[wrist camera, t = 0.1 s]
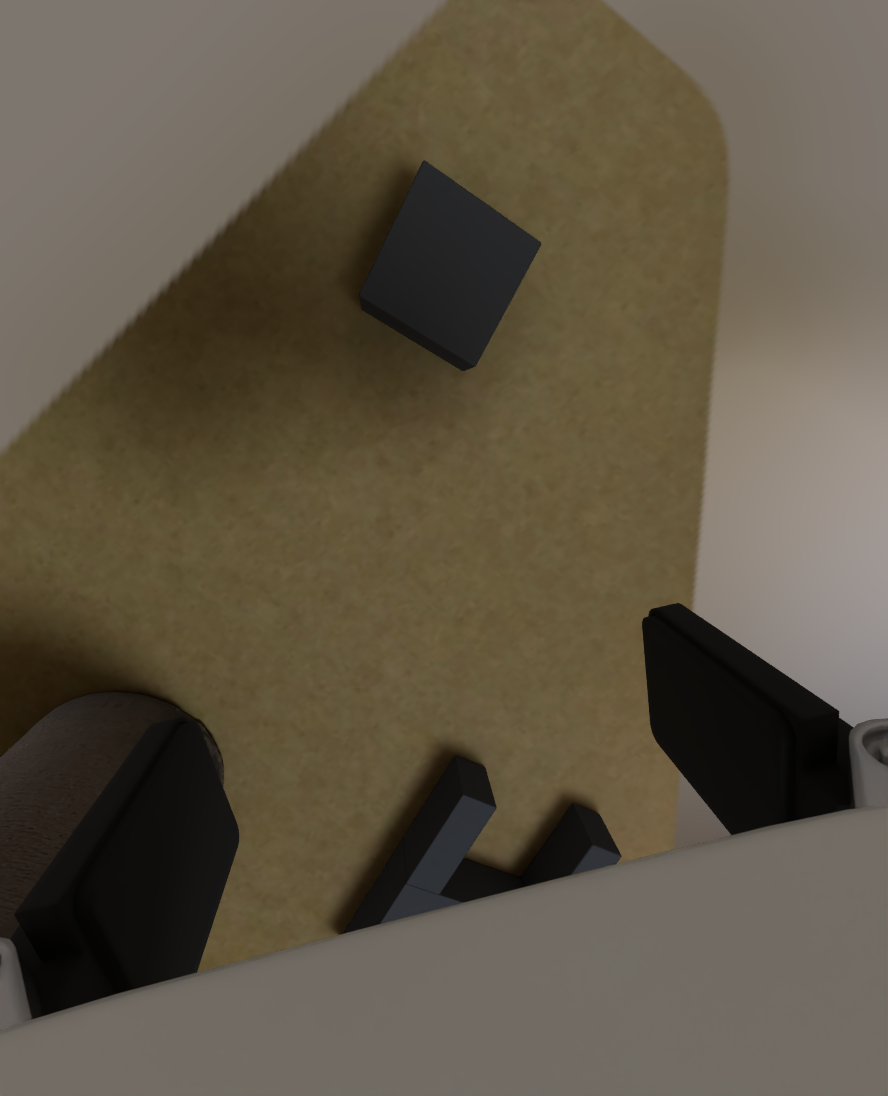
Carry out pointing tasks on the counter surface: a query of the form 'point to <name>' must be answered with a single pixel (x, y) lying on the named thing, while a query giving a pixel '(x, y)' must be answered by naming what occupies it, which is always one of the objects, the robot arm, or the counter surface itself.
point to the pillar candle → (65, 781)
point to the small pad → (447, 269)
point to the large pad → (446, 836)
